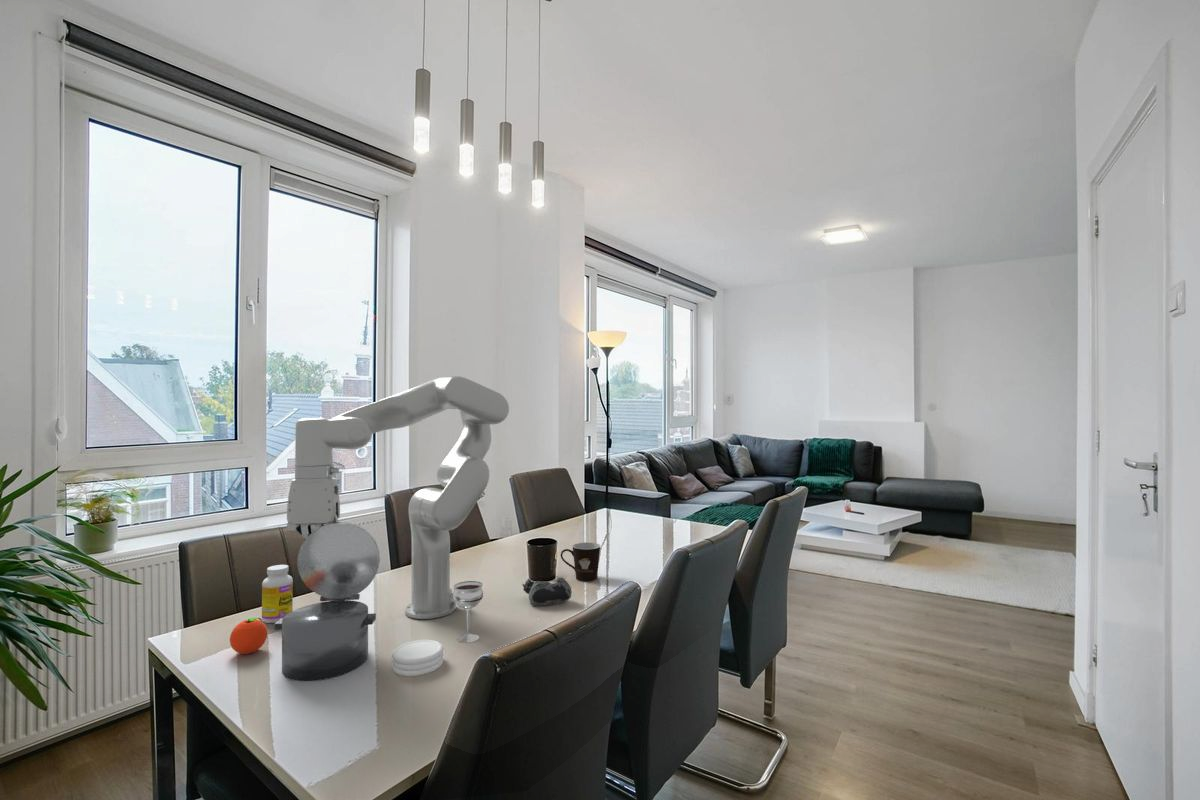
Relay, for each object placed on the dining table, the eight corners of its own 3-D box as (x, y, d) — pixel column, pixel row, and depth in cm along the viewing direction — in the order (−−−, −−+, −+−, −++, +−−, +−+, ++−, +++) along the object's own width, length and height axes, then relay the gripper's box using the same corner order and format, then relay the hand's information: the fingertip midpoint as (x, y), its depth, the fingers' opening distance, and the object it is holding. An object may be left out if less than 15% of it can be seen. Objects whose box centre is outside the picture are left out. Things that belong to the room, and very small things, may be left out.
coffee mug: (605, 577, 174) (605, 544, 174) (590, 584, 167) (590, 550, 167) (574, 571, 180) (574, 539, 181) (558, 578, 173) (558, 545, 173)
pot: (382, 643, 126) (382, 598, 126) (363, 677, 110) (363, 625, 110) (292, 648, 123) (293, 602, 123) (259, 684, 107) (260, 631, 107)
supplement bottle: (278, 625, 136) (278, 571, 137) (255, 623, 138) (255, 570, 138) (298, 615, 143) (298, 564, 143) (276, 613, 144) (276, 562, 144)
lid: (298, 603, 124) (302, 598, 126) (379, 599, 126) (381, 595, 129) (296, 524, 123) (300, 521, 125) (378, 522, 125) (380, 519, 128)
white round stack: (425, 651, 122) (425, 634, 122) (453, 664, 116) (453, 647, 116) (382, 667, 115) (382, 650, 115) (409, 682, 108) (409, 664, 108)
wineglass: (450, 635, 130) (450, 582, 130) (480, 630, 133) (480, 579, 133) (455, 646, 124) (455, 591, 124) (486, 641, 127) (486, 587, 127)
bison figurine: (573, 605, 150) (564, 592, 160) (573, 579, 150) (564, 567, 159) (528, 611, 147) (522, 596, 156) (528, 584, 146) (522, 571, 156)
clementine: (246, 643, 126) (247, 611, 126) (277, 643, 126) (277, 611, 126) (221, 659, 118) (221, 625, 118) (254, 659, 118) (254, 625, 118)
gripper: (353, 470, 131) (352, 550, 131) (285, 471, 129) (284, 551, 129) (343, 474, 124) (342, 558, 124) (270, 475, 122) (269, 560, 122)
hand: (312, 554), depth 126 cm, fingers closed
